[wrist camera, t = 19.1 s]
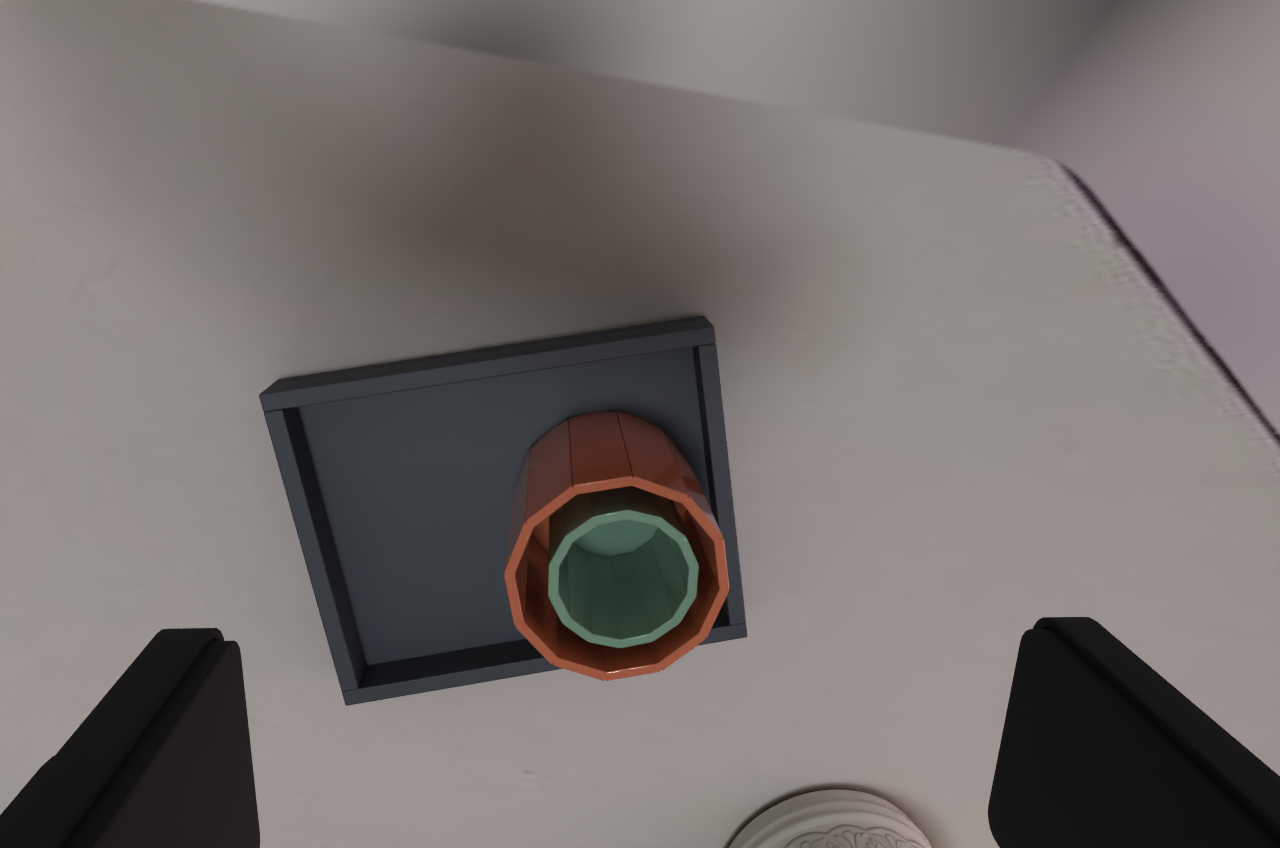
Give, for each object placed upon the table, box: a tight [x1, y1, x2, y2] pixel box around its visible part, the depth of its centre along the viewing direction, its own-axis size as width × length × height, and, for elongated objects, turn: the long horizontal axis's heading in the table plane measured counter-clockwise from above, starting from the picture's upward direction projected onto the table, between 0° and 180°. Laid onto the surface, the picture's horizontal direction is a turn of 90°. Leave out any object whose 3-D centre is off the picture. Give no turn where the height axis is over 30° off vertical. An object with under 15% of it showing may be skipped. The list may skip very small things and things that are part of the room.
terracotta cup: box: [504, 411, 729, 681], centre depth 37 cm, size 8×8×9 cm
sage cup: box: [548, 486, 699, 648], centre depth 37 cm, size 6×6×8 cm
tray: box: [259, 316, 747, 705], centre depth 40 cm, size 16×20×3 cm
